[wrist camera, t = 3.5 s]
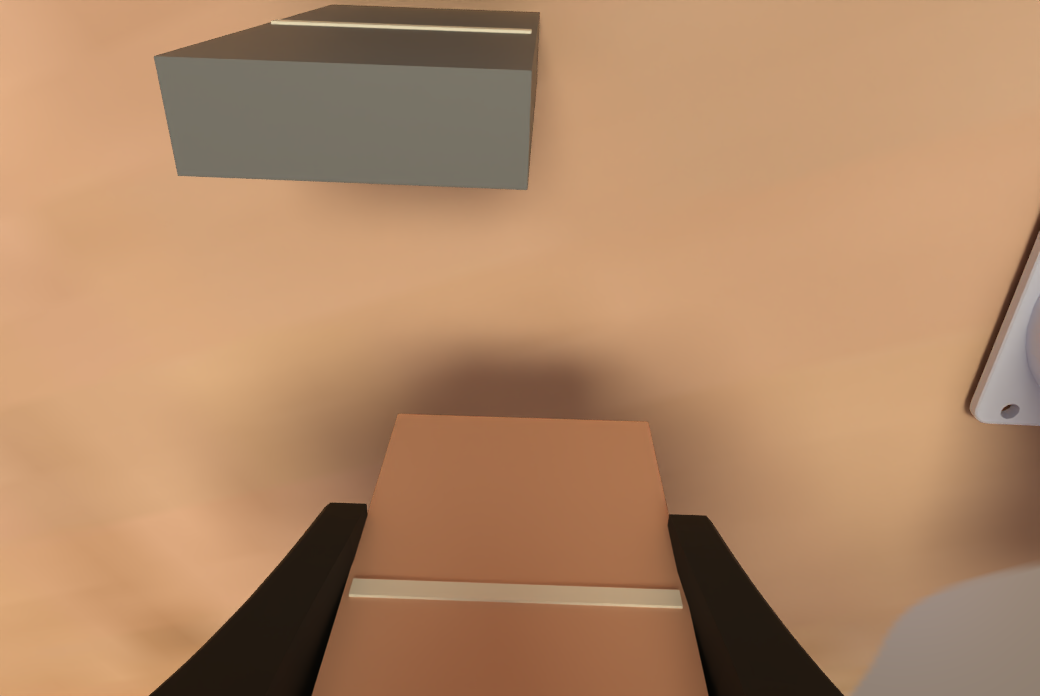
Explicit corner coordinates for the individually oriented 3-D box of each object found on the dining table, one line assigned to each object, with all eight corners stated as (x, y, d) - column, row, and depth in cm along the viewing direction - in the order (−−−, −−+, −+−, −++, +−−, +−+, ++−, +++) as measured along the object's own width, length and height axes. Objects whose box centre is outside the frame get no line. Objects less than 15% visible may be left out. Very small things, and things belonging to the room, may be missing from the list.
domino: (539, 10, 17) (531, 66, 9) (536, 84, 18) (527, 194, 10) (331, 2, 17) (152, 52, 10) (337, 77, 18) (178, 179, 10)
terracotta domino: (648, 419, 14) (774, 988, 7) (639, 486, 15) (742, 1061, 7) (397, 411, 14) (227, 966, 7) (402, 478, 15) (256, 1041, 7)
